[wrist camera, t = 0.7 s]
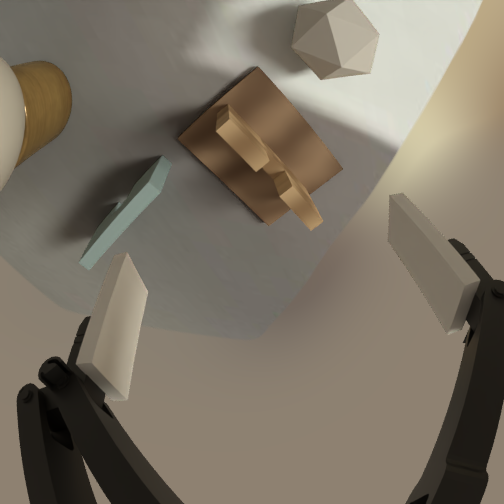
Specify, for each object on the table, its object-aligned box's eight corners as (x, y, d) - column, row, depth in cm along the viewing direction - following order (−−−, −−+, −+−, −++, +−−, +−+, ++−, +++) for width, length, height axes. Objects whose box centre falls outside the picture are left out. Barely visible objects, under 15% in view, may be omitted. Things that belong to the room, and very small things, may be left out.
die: (318, 90, 33) (396, 91, 26) (261, 62, 27) (348, 50, 20) (327, 31, 31) (401, 23, 24) (275, -4, 25) (356, -25, 18)
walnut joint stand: (178, 136, 35) (166, 163, 27) (257, 66, 31) (268, 71, 23) (267, 222, 42) (277, 264, 35) (340, 166, 38) (368, 198, 31)
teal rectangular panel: (97, 226, 40) (78, 262, 34) (162, 155, 36) (148, 182, 29) (106, 233, 41) (88, 270, 35) (171, 163, 36) (160, 192, 30)
